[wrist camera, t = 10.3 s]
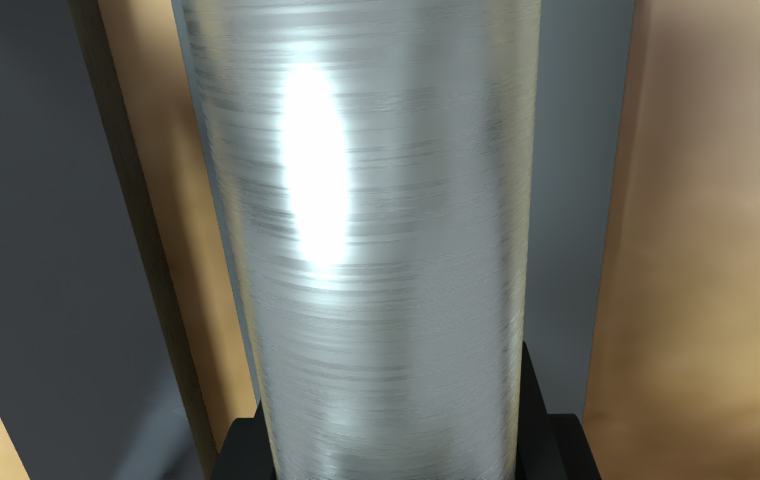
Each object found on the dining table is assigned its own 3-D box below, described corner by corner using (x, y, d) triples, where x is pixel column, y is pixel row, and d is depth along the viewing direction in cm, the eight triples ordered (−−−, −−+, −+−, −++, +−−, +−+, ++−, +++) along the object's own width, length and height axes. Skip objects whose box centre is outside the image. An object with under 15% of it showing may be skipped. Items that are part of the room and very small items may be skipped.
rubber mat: (698, -622, 8) (718, -662, 8) (555, 593, 22) (558, 609, 21) (73, -529, 9) (51, -560, 9) (301, 589, 22) (299, 605, 22)
